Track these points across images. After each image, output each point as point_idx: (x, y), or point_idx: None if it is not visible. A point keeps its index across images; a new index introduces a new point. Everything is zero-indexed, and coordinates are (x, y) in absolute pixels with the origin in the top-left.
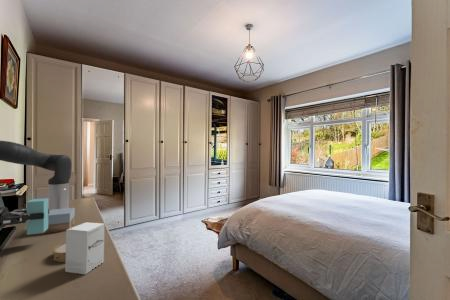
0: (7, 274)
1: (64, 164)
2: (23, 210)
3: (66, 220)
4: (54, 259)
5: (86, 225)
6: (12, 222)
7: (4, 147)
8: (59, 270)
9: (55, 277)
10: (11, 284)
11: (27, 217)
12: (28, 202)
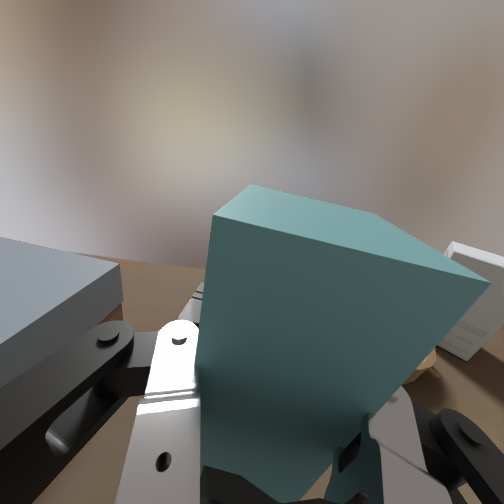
0: None
1: None
2: (195, 500)
3: (112, 301)
4: (437, 376)
5: (487, 255)
6: None
7: None
8: (463, 372)
9: (497, 381)
10: None
11: (414, 413)
12: (460, 276)
